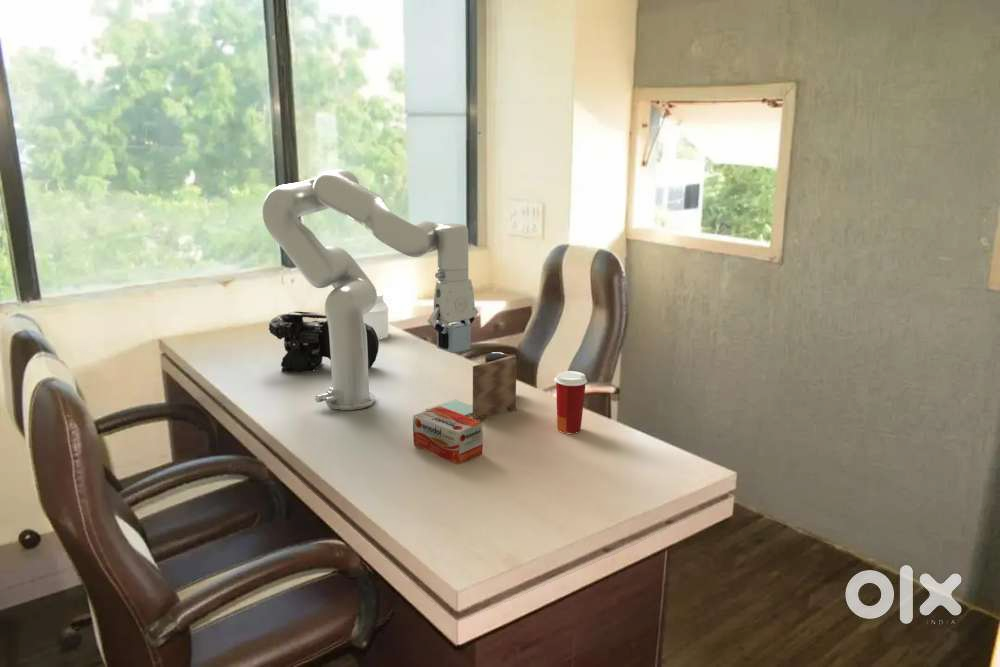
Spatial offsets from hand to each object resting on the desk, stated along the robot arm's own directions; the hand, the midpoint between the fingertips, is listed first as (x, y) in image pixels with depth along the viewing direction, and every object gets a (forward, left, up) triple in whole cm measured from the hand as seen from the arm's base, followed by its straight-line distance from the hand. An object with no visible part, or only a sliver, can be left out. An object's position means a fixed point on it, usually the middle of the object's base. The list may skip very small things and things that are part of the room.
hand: (453, 344), depth 193 cm
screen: (+7, -8, -18) cm, 21 cm away
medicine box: (-17, -17, -18) cm, 30 cm away
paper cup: (+13, -28, -18) cm, 36 cm away
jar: (+25, +73, -18) cm, 79 cm away
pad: (0, 0, -18) cm, 18 cm away
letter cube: (0, 0, -1) cm, 1 cm away
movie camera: (-7, +52, -18) cm, 56 cm away
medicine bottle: (+16, +1, -18) cm, 24 cm away
